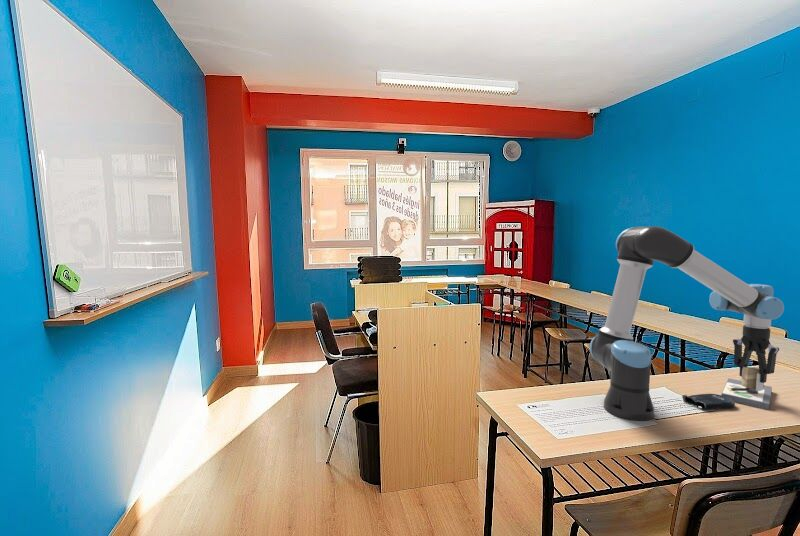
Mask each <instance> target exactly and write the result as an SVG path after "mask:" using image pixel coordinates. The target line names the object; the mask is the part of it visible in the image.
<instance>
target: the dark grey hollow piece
mask: <svg viewBox="0 0 800 536" xmlns="http://www.w3.org/2000/svg"><path fill="white" fill-rule="evenodd" d="M681 397H682V401H683V402H684V403H687V402H688V403H687V404H689V403H690V402H691V403H699V404H703V406H704V407H705V408H704V410H713V409H714V410H715V409H717V410H718V409H732V408H735V405H736V402H734V401H733V400H732V399H731V398H728V397H725V396H722V395H721V394H718V393H717V394H716V393H702V394H701V393H700V394H694V395H693V394H692V395H689V396H688V395H687V394H683V395H682V396H681ZM696 408H698V406H697V407H696ZM704 410H703V411H704Z"/></svg>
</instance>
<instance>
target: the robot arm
mask: <svg viewBox="0 0 800 536" xmlns="http://www.w3.org/2000/svg"><path fill="white" fill-rule="evenodd" d="M615 249H616V251H617V252H618V253H617V257H616V260H617V262H618V264H619V268H618V273H617V278H616V282H615V284H614V288H613V292H612V296H611V300H610V304H609V309H608V312H607V316H606V320H605V324H604V326H602V327H601V328H599V329H598V331H597V332H598V333H597V334H596V336H593V337H592V338H591V341H590V343H589V351H590V355H591V357H592V358H593V359H594V361H595V362H596V363H598V364H599V365H600V366H602V367H604V368H605V369H607V370H608V371H609V372H610V385H609V388H608V390H607V392H606V394H605V397H604V400H603V408H604V409H605V410H606V411H607V412H609V414H611V415H614V416H617V417H618V418H619V417H620V418H623V419H627V420H631V421H649V420H653V418H654V417H655V408H654V404H653V401H652V398H651V395H650V379H651V365H652V355H651V350H650V349H649V347H648V346H646V345H644V344H643V343H640V342H636V341H634V337H633V335H632V334H631V330H632V327H633V323H634V319H635V315H636V311H637V308H638V303H639V299H640V296H641V292H642V288H643V284H644V281H645V277H646V273H647V270H648V269H651V268H653V266H654V263H655V262H659V263H661V264H664V265H666V266H668V267H670V268H671V269H679V270H680V271H681V272H684V273H685V274H686V275H688V276H689V277H691V278H693V279H694V280H695V281H697V282H699V283H700V284H702V285H704V286H705V287H707V288H708V289H710V290H712V291H711V293H710V294H709V305H710V306H711V308H712V309H713V310H715V311H730V312H735V313H739V314H743V324H744V325H743V326H742V337H741V338H736V339H732V343H733V349H734V350H733V353H734V354H733V356H734V357H733V365H734V366H737V367H739V374H738V375H739V377H741V378H742V373H743V367H748V365H749V363H750V360H751V356H752V353H753V352H754V353H755V355H756V358H757V363H758V368H759V371H760V372H759V373H757V380H756V391H761V390H763V383H764V384H765V383H766V382H767V378H768V377H767V376H768V375H771V374H774V373H775V369H776V368H775V367H776V362H777V361H776V360H777V354H778V353H779V351H780V348H779V347H775V346H773V345H772V344H771V342H770V338H771V328H770V327H772V320H777V319H778V318H780V317H781V316H782V315H783V313H784V312H785V305H784V303H783V301H782V300H781V299H779V298H778V297H774V288H773V286H772V285H768V284H761V283H750V284H749V283H746V282H745V281H743V280H742V279H740V278H739V277H737V276H735V275H734V274H732V273H731V272H729V271H728V270H726V269H724V268H723V267H721V265H719V264H717V263H715V262H714V261H713V260H711V259H710V258H707V257H706V256H704V255H703V254H701V253H700V252H699V251H697V250H695V246H694V245H693V244H692V243H690V242H689V241H687V240H686V239H684V238H683V237H681V236H680V235H678V234H676V233H675V232H672V231H671V230H669V229H668V228H667V229H666V228H664V227H661V226H652V225H651V226H634V227H630V228H629V227H628V228H627V229H624V230H623V231H622V232H621V233H619V235H618V236H617V238H616V241H615ZM654 261H655V262H654ZM743 346H744V349H743ZM767 349H768V354H767V357H766V350H767ZM740 381H741V386H742V380H740ZM743 387H744V386H743Z"/></svg>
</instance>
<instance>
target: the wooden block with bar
mask: <svg viewBox="0 0 800 536" xmlns="http://www.w3.org/2000/svg"><path fill="white" fill-rule="evenodd" d="M759 372H760V371H759V367H750V366H747V367H743V373H742V377H741V381H742V386H744V387H746V388H731V390H733V391H747V392H749V393H754V394H757V393H758V391H756V380H757V373H759ZM764 384H765V383H763V387H764Z"/></svg>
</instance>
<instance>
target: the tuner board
mask: <svg viewBox="0 0 800 536" xmlns="http://www.w3.org/2000/svg"><path fill="white" fill-rule="evenodd" d="M741 381H742V380H739V379H734V378H729V377H728V378H727V381H726V382H725V385H724V387H723V389H722V392H721V393H720V395H722V396H725V397H728V398H731V399H732V400H733V401H734V403H738V404H743V405H746V406H752V407H756V408H760V409H765V410H770V405H771V397H772V390H773V389H772V388H773V386H770V385H764V387H763V390H761V391H758V393H757V394H754V393H749V392H747V391H733V390H731V388H746V387H743V386H741Z"/></svg>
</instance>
